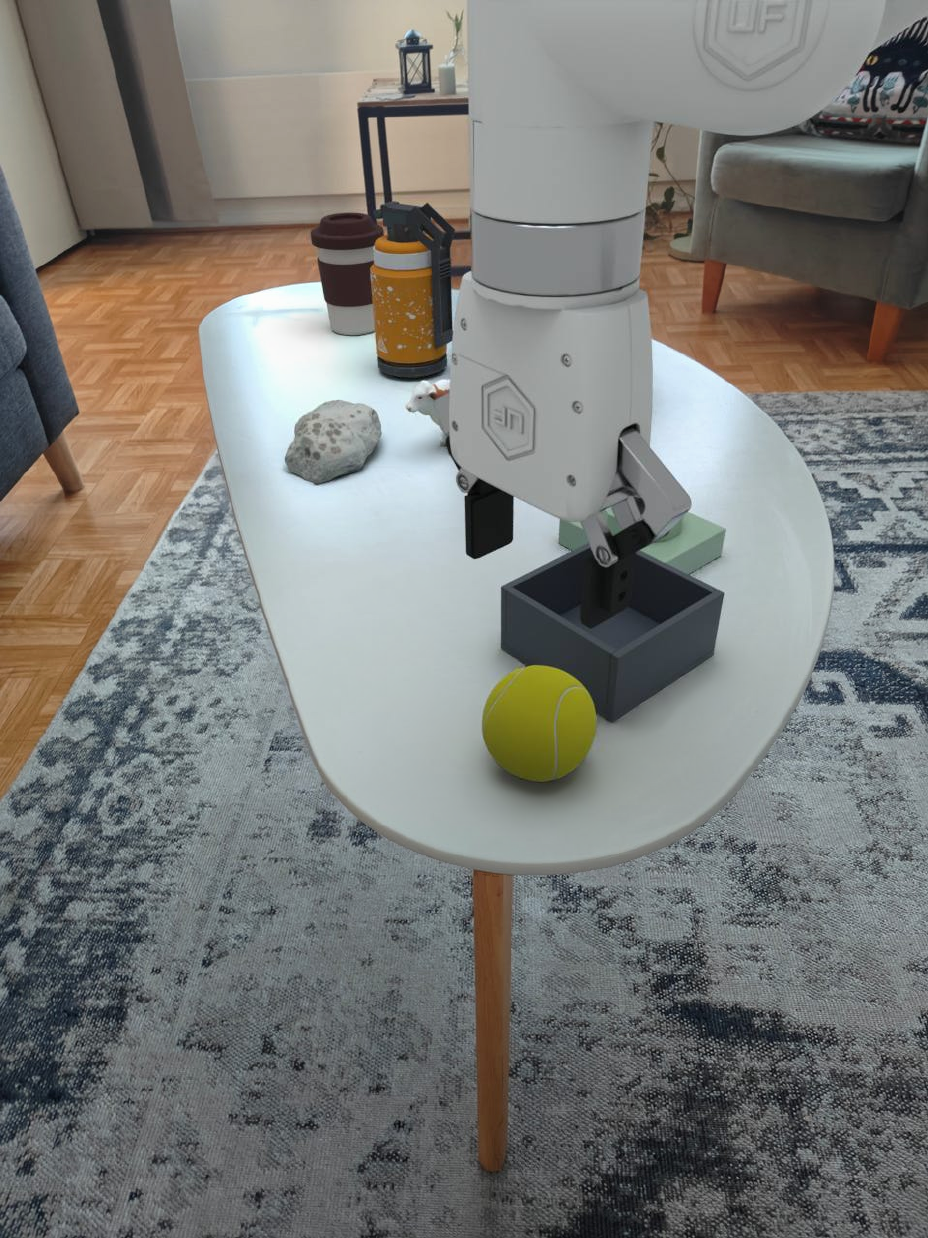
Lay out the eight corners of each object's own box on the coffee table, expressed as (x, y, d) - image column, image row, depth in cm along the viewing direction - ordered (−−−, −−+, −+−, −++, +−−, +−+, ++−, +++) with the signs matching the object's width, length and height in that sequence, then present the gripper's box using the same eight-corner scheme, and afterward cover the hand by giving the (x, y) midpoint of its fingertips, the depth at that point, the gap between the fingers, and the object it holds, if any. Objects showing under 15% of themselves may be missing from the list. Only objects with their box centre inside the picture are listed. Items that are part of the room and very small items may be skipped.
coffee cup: (352, 313, 136) (342, 206, 127) (403, 324, 131) (397, 214, 123) (307, 331, 130) (293, 220, 121) (359, 343, 125) (349, 228, 116)
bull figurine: (402, 456, 95) (397, 382, 90) (483, 416, 103) (483, 346, 99) (432, 468, 93) (429, 392, 88) (513, 426, 101) (514, 354, 96)
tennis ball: (610, 750, 59) (618, 666, 55) (561, 820, 54) (566, 734, 50) (516, 713, 62) (518, 631, 58) (462, 776, 57) (460, 692, 53)
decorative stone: (279, 439, 99) (273, 396, 97) (376, 427, 102) (372, 384, 99) (290, 488, 90) (283, 442, 87) (396, 474, 92) (393, 428, 89)
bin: (713, 655, 67) (725, 592, 63) (611, 723, 61) (618, 658, 58) (601, 592, 74) (606, 533, 70) (500, 648, 68) (500, 586, 65)
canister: (407, 352, 121) (398, 191, 110) (474, 368, 116) (471, 200, 104) (363, 372, 116) (348, 204, 104) (431, 390, 110) (424, 215, 99)
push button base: (721, 555, 78) (729, 509, 75) (654, 594, 73) (660, 547, 71) (625, 510, 85) (629, 466, 82) (558, 543, 80) (560, 498, 77)
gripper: (371, 233, 43) (395, 545, 53) (654, 313, 32) (616, 685, 42) (488, 209, 47) (490, 504, 57) (775, 272, 36) (714, 623, 46)
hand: (544, 580), depth 50 cm, fingers open, 8 cm apart
